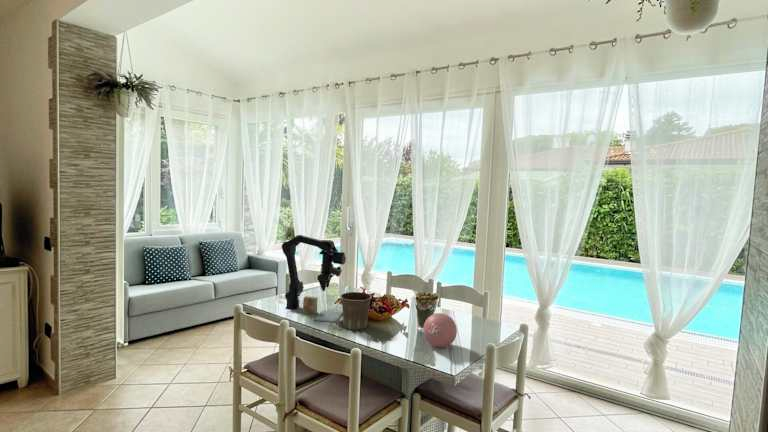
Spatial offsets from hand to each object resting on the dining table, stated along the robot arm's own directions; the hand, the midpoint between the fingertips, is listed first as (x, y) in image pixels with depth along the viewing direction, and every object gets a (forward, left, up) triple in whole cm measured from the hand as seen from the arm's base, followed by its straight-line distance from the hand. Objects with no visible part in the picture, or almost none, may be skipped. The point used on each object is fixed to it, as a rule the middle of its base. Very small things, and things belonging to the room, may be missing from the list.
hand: (325, 289), depth 233 cm
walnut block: (-8, -4, -13) cm, 16 cm away
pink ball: (+63, -42, -14) cm, 77 cm away
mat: (+4, -8, -13) cm, 16 cm away
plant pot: (+21, -21, -14) cm, 33 cm away
